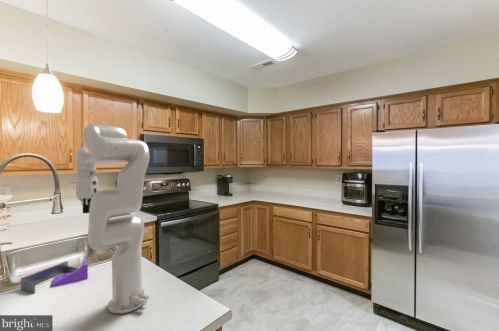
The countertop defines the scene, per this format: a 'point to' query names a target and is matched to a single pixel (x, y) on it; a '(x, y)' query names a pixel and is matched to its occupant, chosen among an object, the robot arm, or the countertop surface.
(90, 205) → the robot arm
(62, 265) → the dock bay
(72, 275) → the bracket
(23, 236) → the countertop surface
